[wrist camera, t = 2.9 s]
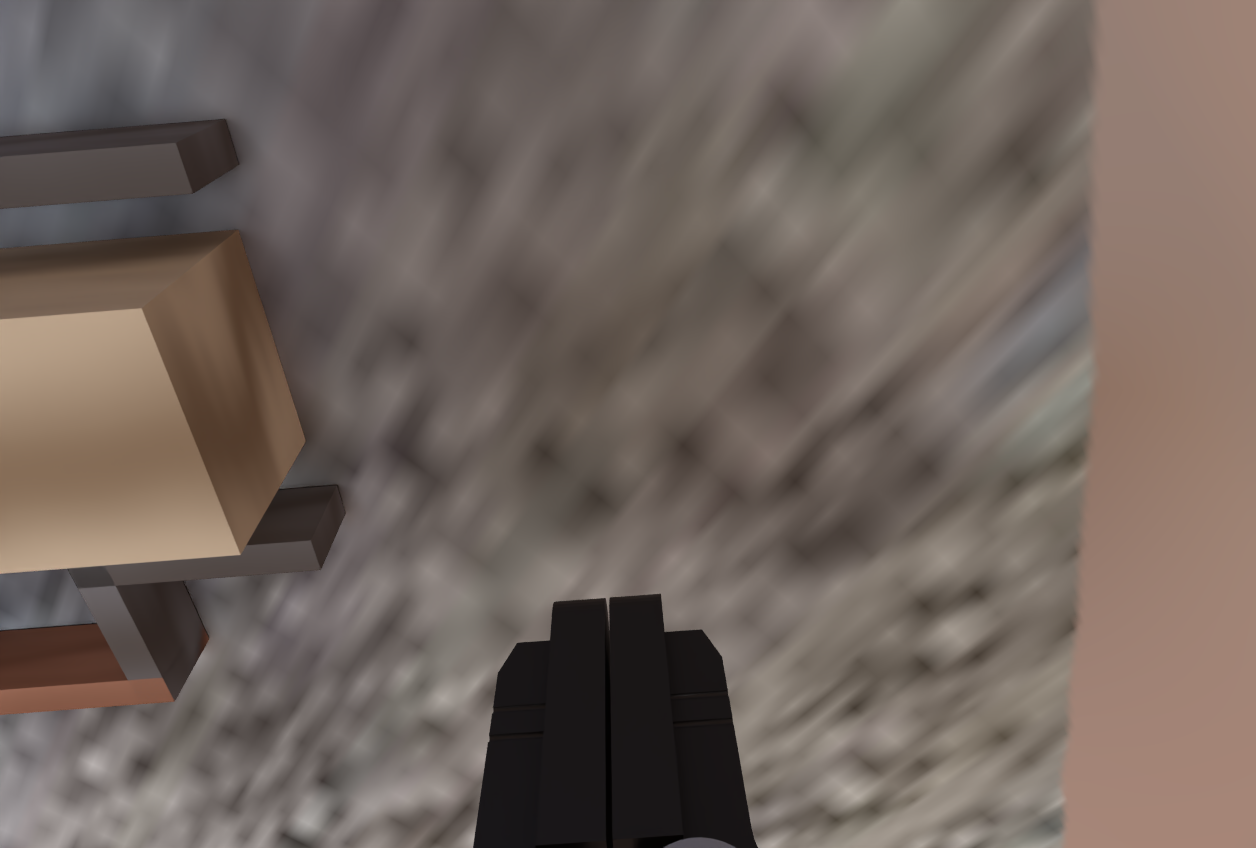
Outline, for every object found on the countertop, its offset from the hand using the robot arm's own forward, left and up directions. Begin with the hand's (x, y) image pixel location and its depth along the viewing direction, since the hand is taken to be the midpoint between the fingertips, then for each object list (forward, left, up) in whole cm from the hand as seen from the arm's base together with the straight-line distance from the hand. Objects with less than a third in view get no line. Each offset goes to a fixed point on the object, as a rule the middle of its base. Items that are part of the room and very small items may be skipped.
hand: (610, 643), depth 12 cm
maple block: (0, -12, -11) cm, 16 cm away
